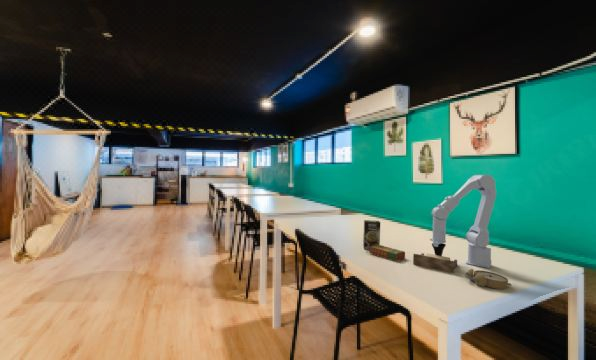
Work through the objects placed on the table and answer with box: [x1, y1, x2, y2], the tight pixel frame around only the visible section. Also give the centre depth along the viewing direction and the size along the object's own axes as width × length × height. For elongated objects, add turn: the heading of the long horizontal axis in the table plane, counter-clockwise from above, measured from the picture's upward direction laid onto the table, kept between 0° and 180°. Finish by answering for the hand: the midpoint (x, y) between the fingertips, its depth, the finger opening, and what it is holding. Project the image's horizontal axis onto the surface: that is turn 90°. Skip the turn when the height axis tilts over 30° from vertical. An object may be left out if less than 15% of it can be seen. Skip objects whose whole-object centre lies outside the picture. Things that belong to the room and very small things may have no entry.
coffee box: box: [362, 219, 381, 250], centre depth 157 cm, size 9×6×16 cm
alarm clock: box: [464, 268, 512, 290], centre depth 107 cm, size 11×5×15 cm
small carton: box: [424, 253, 451, 261], centre depth 129 cm, size 10×8×4 cm
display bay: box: [412, 252, 458, 274], centre depth 129 cm, size 17×14×5 cm
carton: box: [369, 244, 406, 262], centre depth 142 cm, size 8×16×4 cm, turn 38°
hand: (438, 258), depth 133 cm, fingers closed
